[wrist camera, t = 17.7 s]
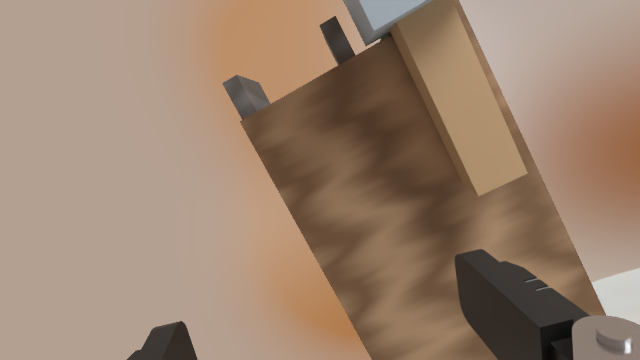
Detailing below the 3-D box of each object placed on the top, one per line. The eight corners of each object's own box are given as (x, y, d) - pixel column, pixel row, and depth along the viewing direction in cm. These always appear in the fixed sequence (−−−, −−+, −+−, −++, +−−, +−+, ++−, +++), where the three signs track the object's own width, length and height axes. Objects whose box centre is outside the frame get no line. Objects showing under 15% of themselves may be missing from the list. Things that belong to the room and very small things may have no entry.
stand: (443, 487, 29) (218, 82, 25) (426, 416, 36) (247, 89, 32) (653, 416, 26) (436, -49, 22) (591, 353, 33) (417, -10, 29)
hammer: (434, 186, 27) (465, 219, 20) (323, -40, 24) (315, -91, 17) (514, 147, 26) (574, 168, 19) (408, -94, 23) (436, -171, 16)
